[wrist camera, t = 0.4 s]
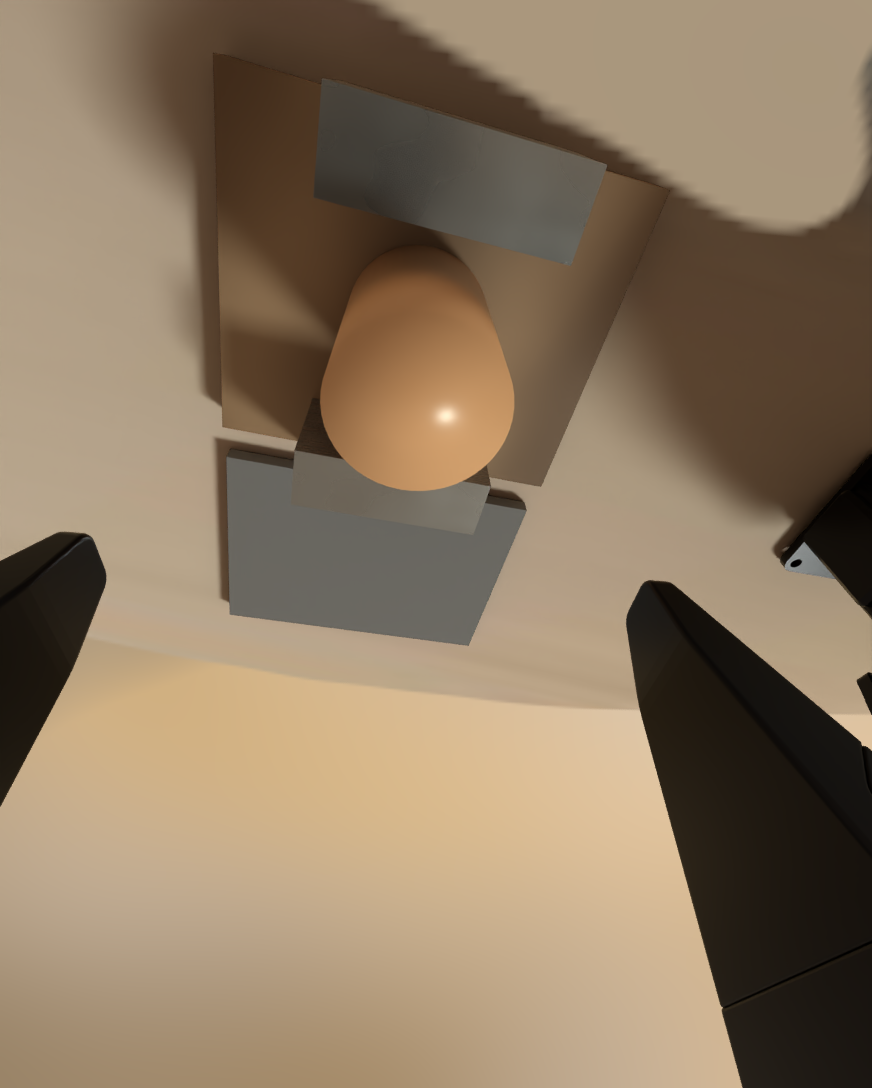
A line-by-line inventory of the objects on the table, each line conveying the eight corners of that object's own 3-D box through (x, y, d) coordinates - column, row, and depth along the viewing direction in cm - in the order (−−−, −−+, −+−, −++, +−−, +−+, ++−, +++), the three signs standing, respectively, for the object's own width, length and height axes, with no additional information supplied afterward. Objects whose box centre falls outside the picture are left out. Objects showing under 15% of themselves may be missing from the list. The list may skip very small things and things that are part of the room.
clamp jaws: (571, 150, 14) (607, 164, 11) (465, 477, 20) (473, 535, 18) (341, 80, 13) (321, 78, 10) (307, 447, 19) (290, 504, 17)
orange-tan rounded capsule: (506, 265, 16) (542, 337, 11) (466, 401, 18) (482, 504, 14) (357, 227, 15) (330, 287, 10) (339, 374, 18) (312, 473, 13)
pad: (524, 502, 23) (526, 510, 22) (467, 636, 28) (468, 645, 28) (230, 448, 20) (226, 457, 20) (233, 605, 26) (229, 614, 26)
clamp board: (657, 185, 15) (670, 190, 15) (536, 472, 22) (541, 486, 21) (224, 55, 13) (212, 52, 13) (229, 413, 20) (222, 427, 19)
